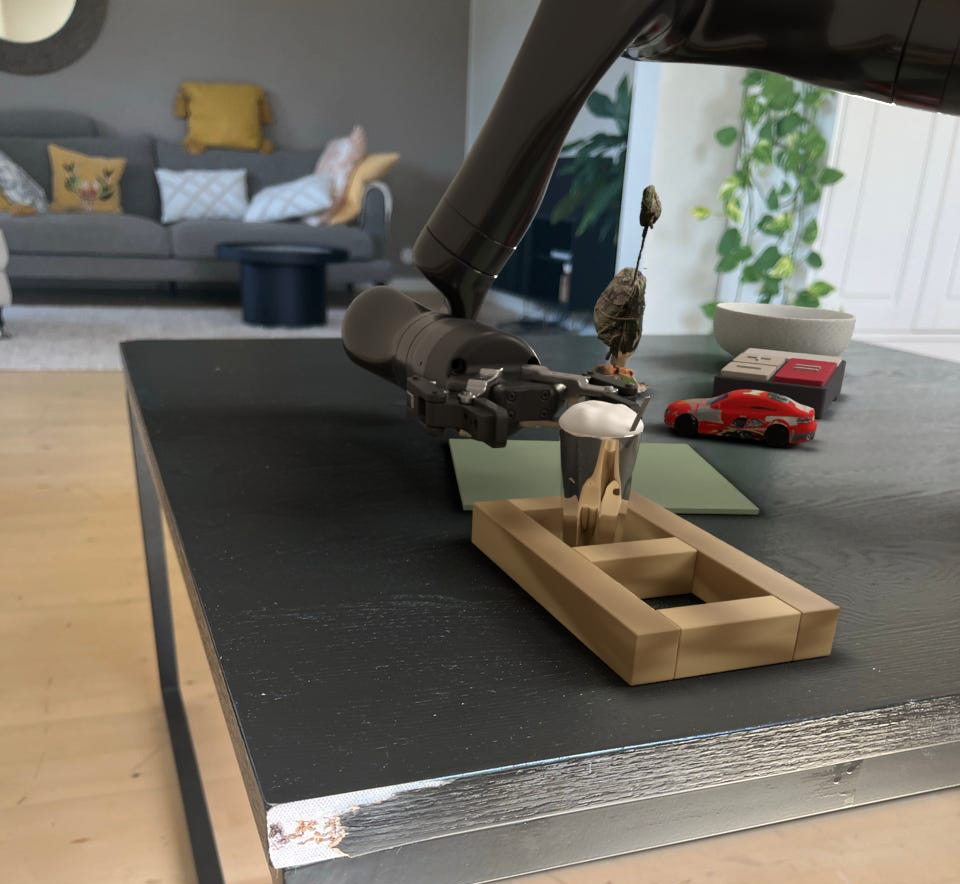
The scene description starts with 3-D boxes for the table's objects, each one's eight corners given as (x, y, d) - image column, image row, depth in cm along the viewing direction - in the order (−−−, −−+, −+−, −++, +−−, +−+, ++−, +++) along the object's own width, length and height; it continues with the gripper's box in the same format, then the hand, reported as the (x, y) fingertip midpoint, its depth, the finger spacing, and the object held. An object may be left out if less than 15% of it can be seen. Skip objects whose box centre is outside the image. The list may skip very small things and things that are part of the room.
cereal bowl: (857, 385, 114) (869, 321, 111) (711, 375, 116) (719, 312, 113) (832, 362, 129) (843, 305, 126) (704, 353, 131) (711, 298, 128)
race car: (656, 434, 88) (661, 388, 86) (668, 422, 92) (673, 378, 90) (810, 452, 83) (818, 404, 82) (815, 439, 88) (823, 393, 86)
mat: (686, 448, 83) (687, 443, 83) (758, 514, 67) (759, 509, 66) (448, 443, 81) (448, 438, 81) (463, 510, 65) (463, 504, 65)
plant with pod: (654, 382, 110) (676, 186, 102) (644, 401, 100) (669, 185, 92) (582, 376, 112) (598, 182, 104) (566, 394, 102) (582, 181, 94)
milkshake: (599, 587, 53) (617, 401, 49) (532, 558, 57) (544, 382, 53) (655, 570, 56) (677, 392, 52) (588, 544, 60) (603, 375, 55)
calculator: (714, 368, 98) (746, 342, 110) (709, 410, 100) (740, 381, 112) (828, 380, 94) (848, 353, 106) (820, 425, 96) (840, 392, 108)
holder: (629, 527, 63) (633, 489, 62) (830, 655, 47) (840, 607, 46) (471, 542, 59) (472, 502, 58) (630, 686, 43) (636, 634, 42)
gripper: (375, 323, 67) (457, 364, 53) (564, 321, 72) (684, 358, 58) (375, 433, 70) (453, 498, 56) (557, 424, 75) (668, 482, 61)
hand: (570, 427), depth 57 cm, fingers open, 8 cm apart
